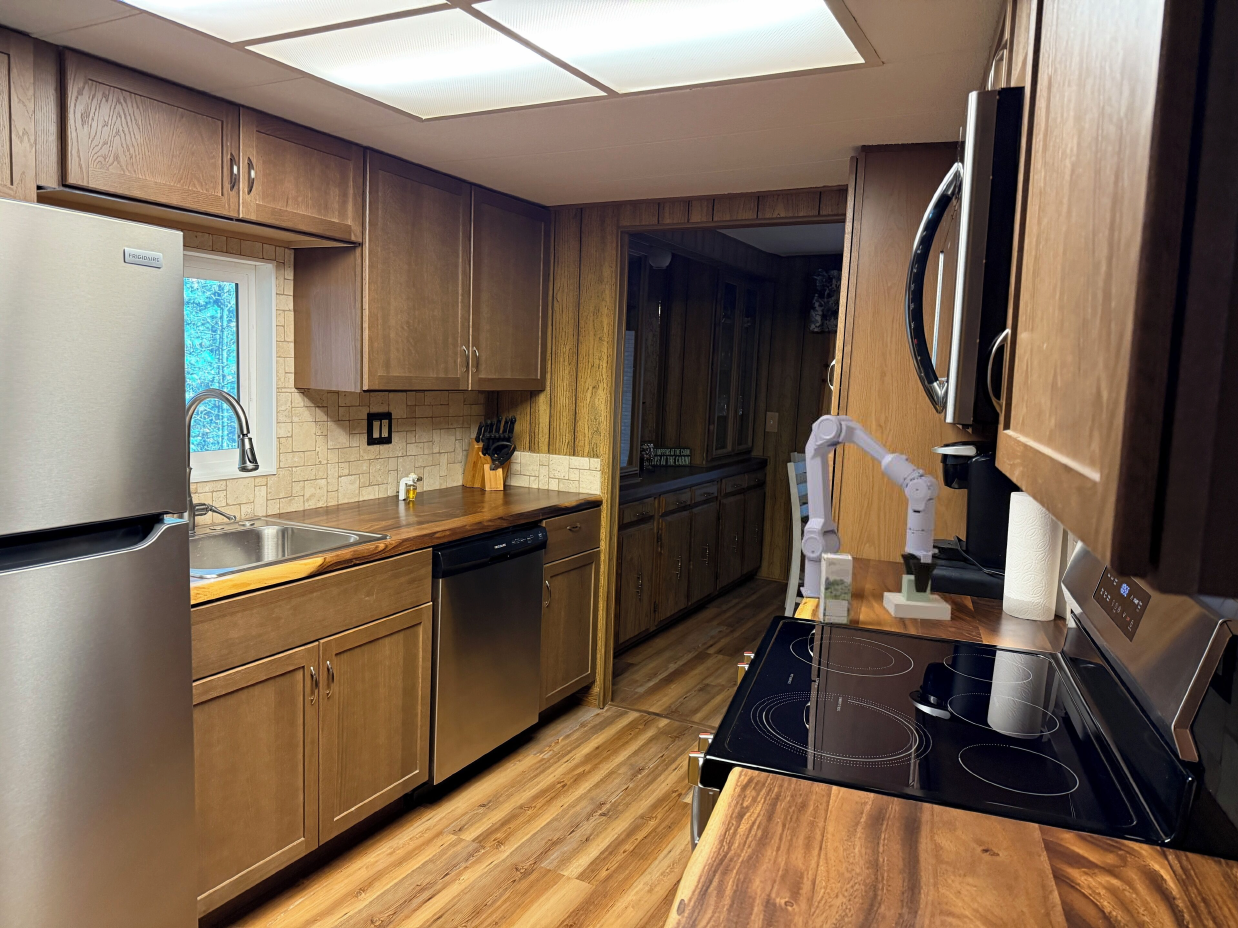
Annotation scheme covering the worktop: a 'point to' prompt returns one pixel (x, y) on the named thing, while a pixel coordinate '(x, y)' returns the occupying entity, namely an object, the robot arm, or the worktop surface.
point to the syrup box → (835, 588)
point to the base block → (917, 607)
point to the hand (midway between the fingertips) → (916, 588)
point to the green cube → (913, 590)
